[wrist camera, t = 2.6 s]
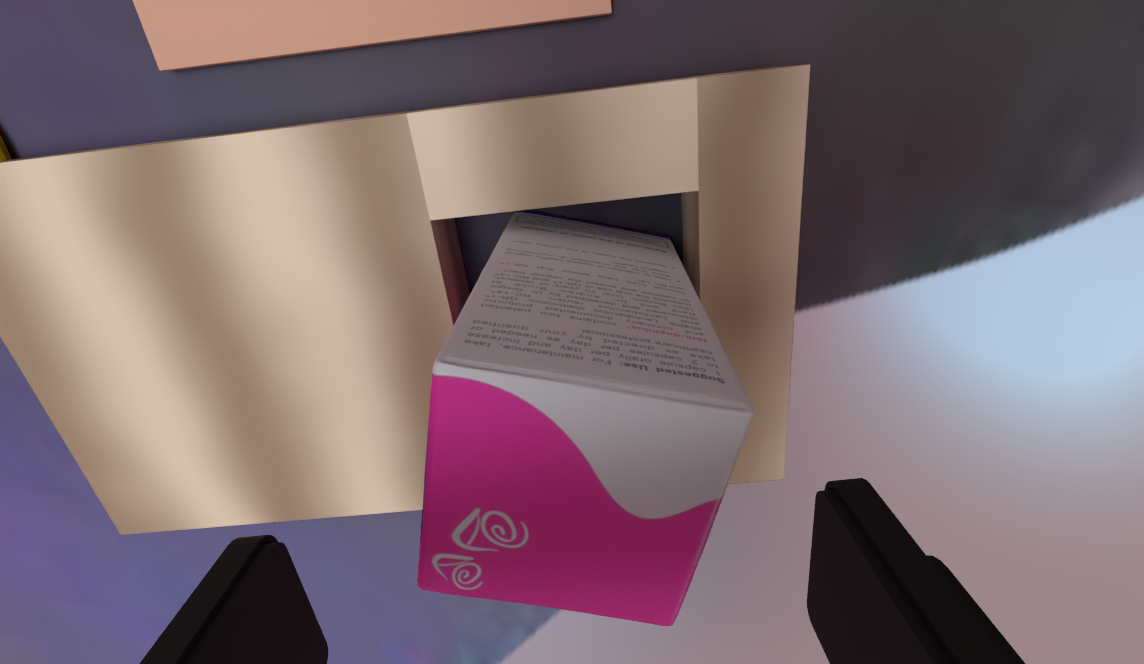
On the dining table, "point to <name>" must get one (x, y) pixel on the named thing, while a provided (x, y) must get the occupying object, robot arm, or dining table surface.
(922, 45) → the dining table surface
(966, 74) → the dining table surface
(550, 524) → the supplement box
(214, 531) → the dining table surface
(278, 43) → the mat
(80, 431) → the wooden cutout board
